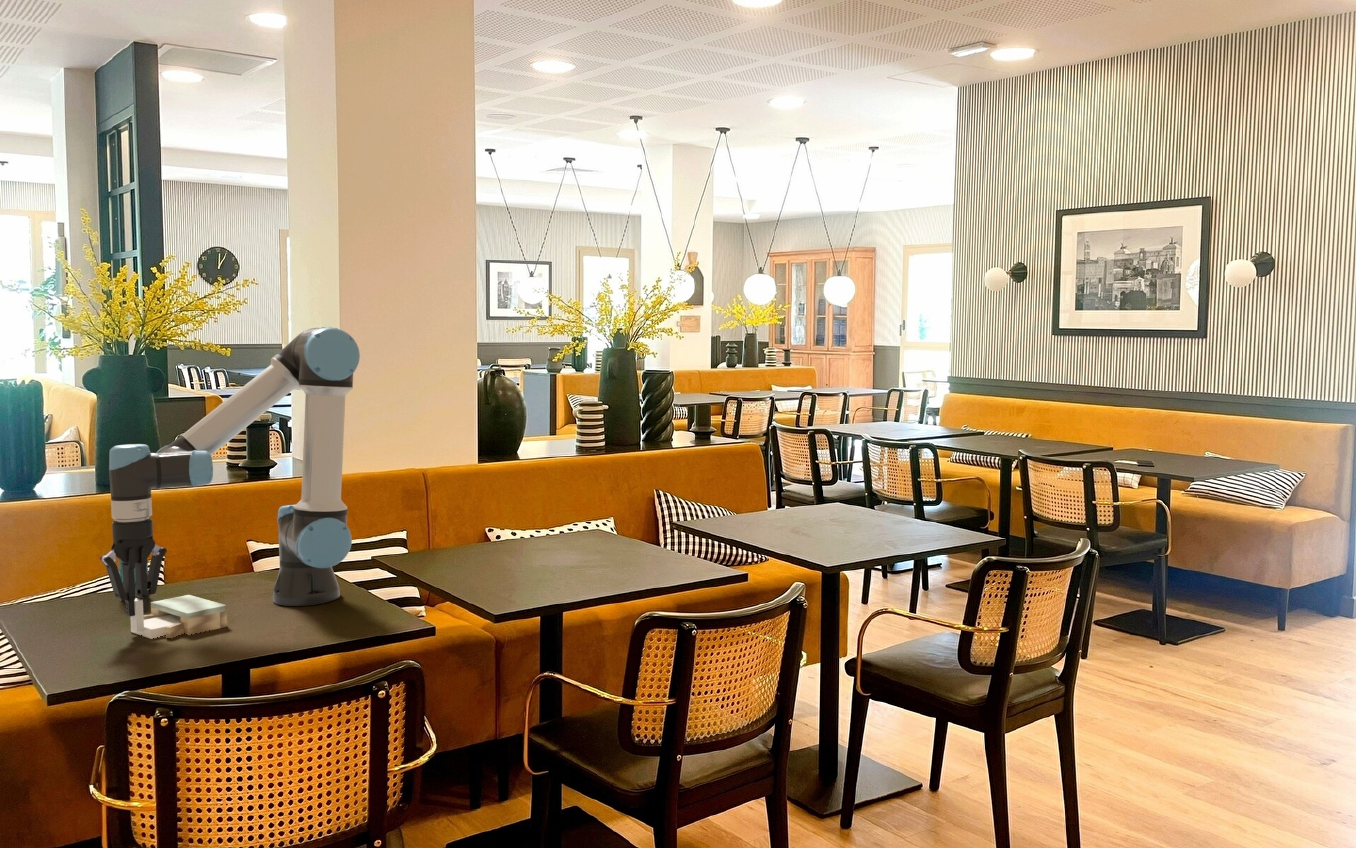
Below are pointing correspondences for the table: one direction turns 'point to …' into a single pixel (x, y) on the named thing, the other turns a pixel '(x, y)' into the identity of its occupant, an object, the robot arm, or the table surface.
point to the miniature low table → (190, 614)
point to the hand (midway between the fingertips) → (137, 630)
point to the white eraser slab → (157, 626)
